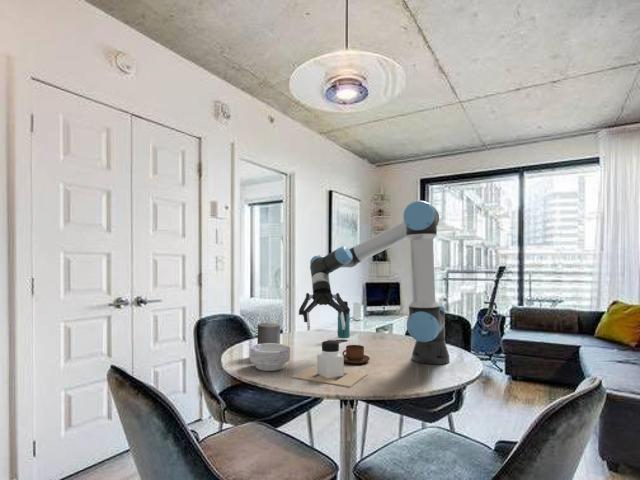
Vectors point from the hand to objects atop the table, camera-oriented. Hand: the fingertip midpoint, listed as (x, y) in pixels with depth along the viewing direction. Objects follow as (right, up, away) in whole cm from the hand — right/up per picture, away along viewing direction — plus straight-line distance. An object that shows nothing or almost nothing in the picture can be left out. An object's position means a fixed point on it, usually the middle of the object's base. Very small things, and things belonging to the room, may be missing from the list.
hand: (326, 328), depth 150 cm
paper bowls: (-22, -15, 0) cm, 26 cm away
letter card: (+1, -15, -10) cm, 18 cm away
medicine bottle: (+1, -15, -10) cm, 18 cm away
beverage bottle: (+10, -18, +54) cm, 57 cm away
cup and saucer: (+12, -16, +11) cm, 23 cm away
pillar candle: (-24, -16, +17) cm, 34 cm away
